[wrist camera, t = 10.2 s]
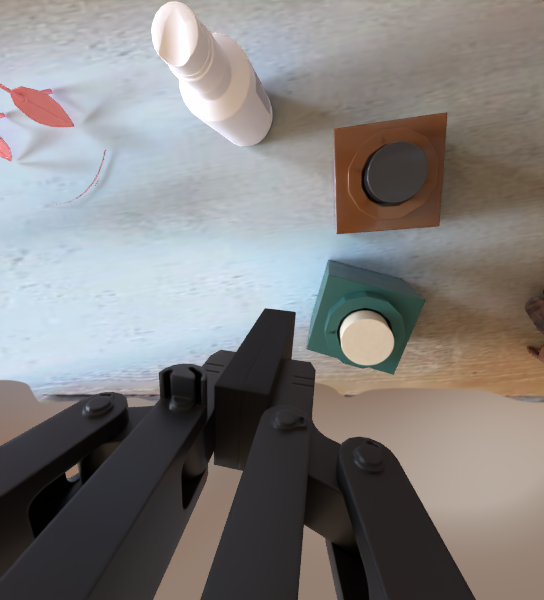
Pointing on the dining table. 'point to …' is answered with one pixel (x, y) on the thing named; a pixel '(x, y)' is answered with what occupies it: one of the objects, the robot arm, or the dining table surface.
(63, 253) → the dining table surface
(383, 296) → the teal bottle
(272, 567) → the robot arm
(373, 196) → the dark gray button
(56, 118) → the figurine
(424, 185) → the brown push button box
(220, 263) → the dining table surface
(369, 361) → the beige cylinder
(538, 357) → the brown jagged looped figure
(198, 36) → the white bottle
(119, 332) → the dining table surface
